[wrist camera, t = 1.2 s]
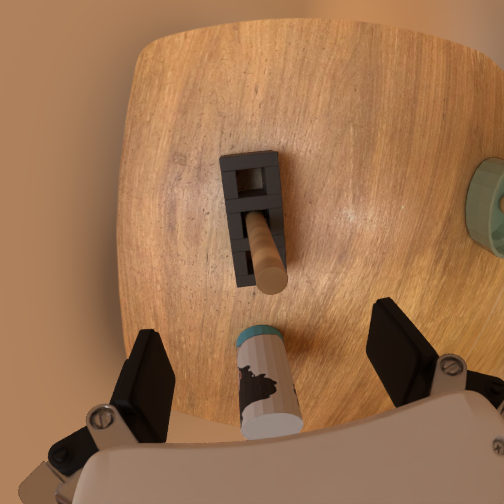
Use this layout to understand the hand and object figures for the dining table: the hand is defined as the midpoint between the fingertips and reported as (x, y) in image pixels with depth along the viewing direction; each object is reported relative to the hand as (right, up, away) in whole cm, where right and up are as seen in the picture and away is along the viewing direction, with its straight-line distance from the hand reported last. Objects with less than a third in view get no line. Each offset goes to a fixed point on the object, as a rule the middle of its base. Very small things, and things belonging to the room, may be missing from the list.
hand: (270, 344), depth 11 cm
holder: (-1, +8, +21) cm, 22 cm away
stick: (-1, +8, +21) cm, 22 cm away
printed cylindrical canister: (0, -9, +28) cm, 30 cm away
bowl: (+39, +12, +22) cm, 47 cm away
